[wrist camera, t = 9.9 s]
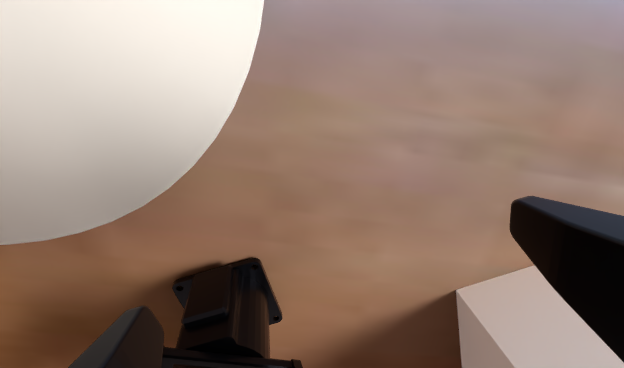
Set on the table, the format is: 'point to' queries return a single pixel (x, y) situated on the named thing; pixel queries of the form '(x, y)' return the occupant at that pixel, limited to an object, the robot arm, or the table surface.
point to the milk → (525, 326)
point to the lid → (110, 103)
